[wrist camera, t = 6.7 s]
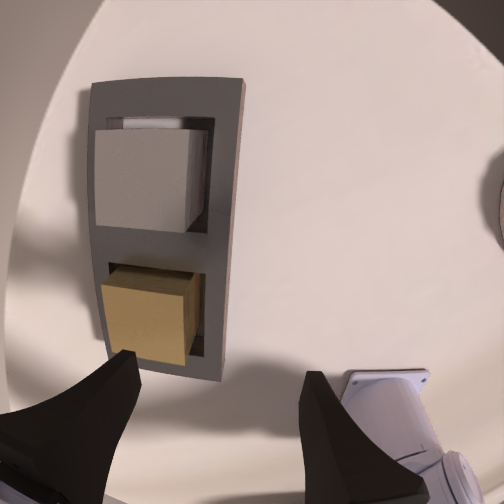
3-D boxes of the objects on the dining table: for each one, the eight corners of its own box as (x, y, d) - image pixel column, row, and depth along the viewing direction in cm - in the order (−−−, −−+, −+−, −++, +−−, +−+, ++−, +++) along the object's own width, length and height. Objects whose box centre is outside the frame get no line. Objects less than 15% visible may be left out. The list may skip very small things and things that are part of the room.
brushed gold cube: (200, 260, 21) (182, 296, 16) (199, 322, 23) (185, 365, 18) (132, 253, 21) (100, 284, 17) (137, 313, 23) (112, 352, 18)
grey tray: (224, 361, 24) (220, 381, 22) (119, 344, 24) (109, 361, 22) (245, 85, 17) (242, 78, 15) (109, 87, 17) (91, 83, 15)
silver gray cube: (203, 209, 20) (184, 233, 15) (131, 204, 20) (96, 225, 15) (208, 130, 18) (189, 129, 13) (133, 129, 18) (95, 130, 13)
